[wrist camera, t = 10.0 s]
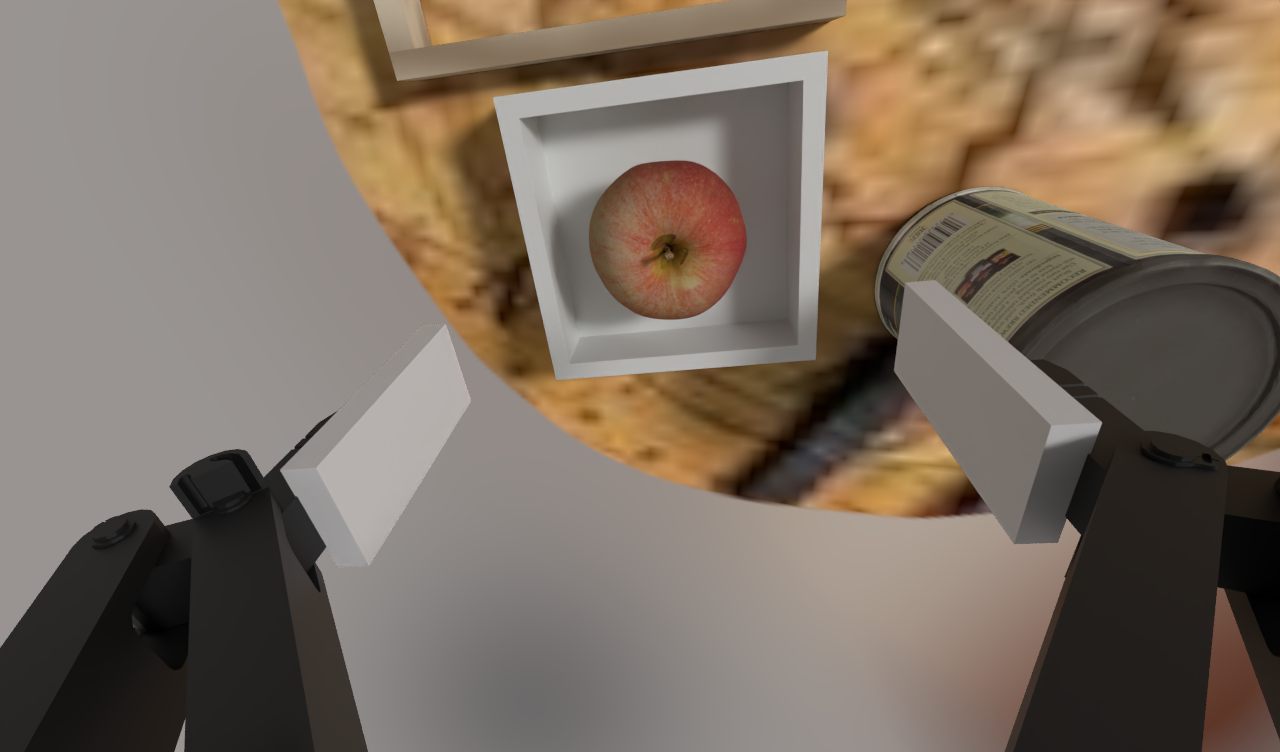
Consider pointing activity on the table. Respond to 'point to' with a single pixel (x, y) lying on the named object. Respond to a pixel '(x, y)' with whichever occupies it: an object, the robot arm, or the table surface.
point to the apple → (667, 239)
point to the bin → (666, 131)
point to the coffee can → (1105, 309)
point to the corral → (582, 34)
